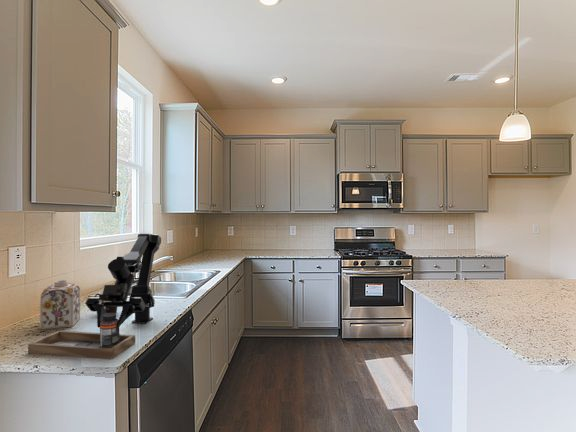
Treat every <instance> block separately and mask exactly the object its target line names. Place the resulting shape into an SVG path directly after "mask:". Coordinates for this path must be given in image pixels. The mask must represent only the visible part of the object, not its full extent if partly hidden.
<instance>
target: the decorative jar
mask: <svg viewBox="0 0 576 432" xmlns="http://www.w3.org/2000/svg"><path fill="white" fill-rule="evenodd" d="M39 309H40V310H39V311H40V312H39V313H40V314H39V316H40V317H39V327H40V328H39V329H40V330H50V329H61V328H72V327H74V326H75V325H76V323H77V322H79V320H80V319H81V288H80V286H79V285H78V284H77V283H71V282H70V283H69V281H68V280H67V279H66V280H65V279H63V280H62V279H61V280H54V284H51V285H48V286H45V287H44V288H43V290H42V293H41V294H40V308H39Z"/></svg>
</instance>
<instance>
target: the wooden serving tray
mask: <svg viewBox="0 0 576 432" xmlns="http://www.w3.org/2000/svg"><path fill="white" fill-rule="evenodd" d="M58 341H70V342H78V343H75V344H74V345H71V344H70V345H69V344H55V343H56V342H58ZM134 343H135V344H136V334H125V333H123V334H122V333H121V334H120V333H119V343H118V344H117V345H115V346H114V347H112V348H102V347H100V332H88V331H76V330H75V331H73V330H58V331H55V332H53V333H50V334H48V335H46V336H44V337H41V338H39V339H37V340H35V341H31V342H30V343H28V344H27V354H35V355H49V356H50V355H51V356H61V357H64V356H65V357H74V358H75V357H77V358H78V357H79V358H88V359H89V358H92V359H102V360H103V359H105V360H113V359H114V358H116V357H117V356H119V355H120V354H122V353H123V352H124V350H125V351H126V350H128V349H129V348H131V347H132V346H133V344H134ZM135 344H134V345H135ZM130 346H131V347H130ZM127 348H128V349H127Z"/></svg>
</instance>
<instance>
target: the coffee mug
mask: <svg viewBox="0 0 576 432" xmlns="http://www.w3.org/2000/svg"><path fill="white" fill-rule="evenodd" d="M94 297H100V298H101V300H103V301H108V300H109V299H107V298H106V295H105V294H104V295H103V290H101V291H99V292H98V293H96V294H95V295H94ZM105 310H106V312H107V313H116V314H117V312H118V307H105Z"/></svg>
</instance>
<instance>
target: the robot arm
mask: <svg viewBox="0 0 576 432" xmlns="http://www.w3.org/2000/svg"><path fill="white" fill-rule="evenodd" d="M161 244H162V237H161V236H160V235H159V234H155V233H154V234H152V233H150V232H140V233H138V234H137V238H136V240H135V242H134V244H133V246H132V248H131V249H130V250H129V252H128V253H126V254H124V255H123V256H117V257H116V258H115V259H113V260H111V261H110V262H108V265H107V269H108V270H109V273H110V274H111V276H112V278H113V279H114V280H115V282H114V284H104V286H103V289H102V291H103V295H104V294H105V295H106V298H107V299H109V300H108V301H103V300H101V298H100V297H99V296H96V297H95V296H89V297H88V298H87V299H86V301H85V305H86V306H87V308H88V309H89V311H90V312H95V313H96V316H97V317H96V318H97V319H96V320H97V321H96V323H97V325H96V327H97V328H99V329H100V323H101V321H103V315H104V314H106V313H107V312H106V310H105V307H117V308H118V307H119V308H122V310H121V312H120V316H119V317H118V322H117V327H119V328H120V327H121V326H122V325H123V324H124V322H125V321H127V320H128V319H129V317H130V316H132V315H133V314H134V319H133V320H131V323H132V324H135V323H136V324H147V323H149V322H150V321H151V320H154V317H151V314H150V313H151V308H153V307H155V298H154V295H153V291H152V288H151V286H150V281H151V276H152V275H151V274H152V271H153V270H152V269H153V265H154V264H153V263H154V259H155V254H156V253H157V252H158V251H159V249H160V246H161ZM138 273H139V274H138ZM134 274H138V279H137V280H138V281H137V283H136V284H135V285H133V284H134V283H135V276H134ZM128 297H129V300H128Z"/></svg>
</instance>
